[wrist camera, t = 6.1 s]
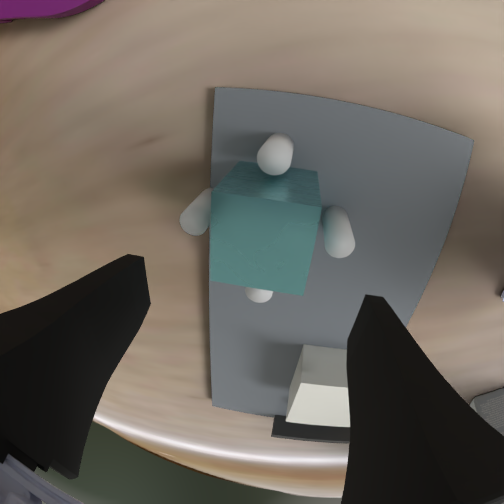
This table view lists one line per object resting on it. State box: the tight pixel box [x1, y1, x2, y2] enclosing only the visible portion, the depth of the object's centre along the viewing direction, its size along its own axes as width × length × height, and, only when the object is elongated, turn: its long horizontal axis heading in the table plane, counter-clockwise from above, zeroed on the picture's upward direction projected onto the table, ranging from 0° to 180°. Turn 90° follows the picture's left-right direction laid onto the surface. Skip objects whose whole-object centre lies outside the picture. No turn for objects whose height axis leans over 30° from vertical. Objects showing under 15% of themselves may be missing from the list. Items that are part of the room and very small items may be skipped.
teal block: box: [210, 161, 322, 296], centre depth 14 cm, size 4×4×5 cm
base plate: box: [180, 87, 474, 443], centre depth 19 cm, size 15×28×4 cm, turn 175°
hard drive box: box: [469, 388, 504, 504], centre depth 17 cm, size 16×8×20 cm, turn 12°
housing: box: [286, 344, 350, 427], centre depth 20 cm, size 7×6×4 cm
